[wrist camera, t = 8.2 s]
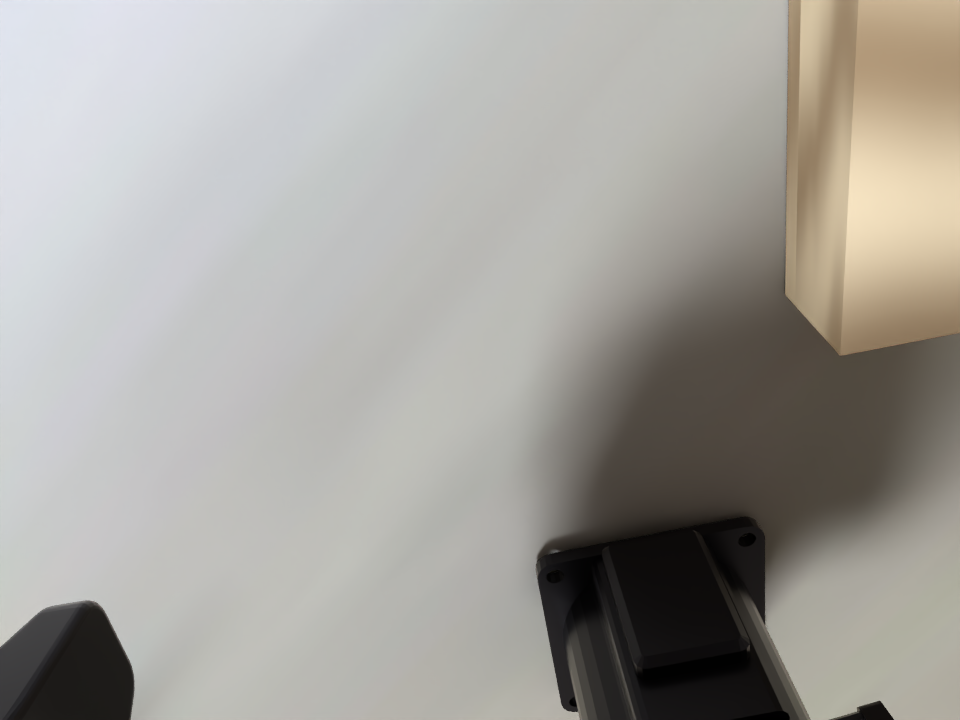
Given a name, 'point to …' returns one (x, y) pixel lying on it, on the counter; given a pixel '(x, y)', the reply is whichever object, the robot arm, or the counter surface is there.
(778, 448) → the counter surface
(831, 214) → the wooden socket board
